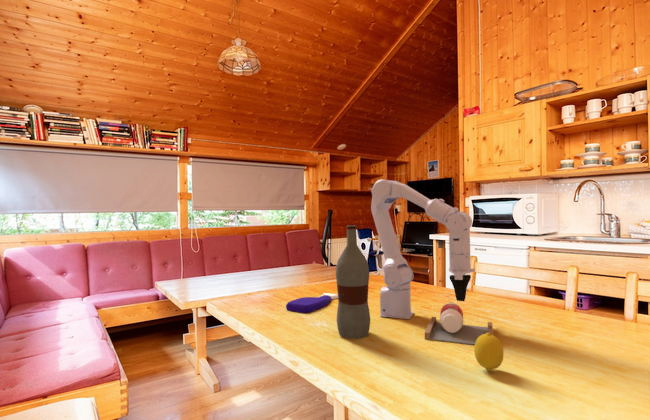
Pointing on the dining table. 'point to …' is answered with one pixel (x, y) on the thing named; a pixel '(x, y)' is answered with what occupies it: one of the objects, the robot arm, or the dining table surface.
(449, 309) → the pill bottle
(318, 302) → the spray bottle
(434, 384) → the dining table surface
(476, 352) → the lemon
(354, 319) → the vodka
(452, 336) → the grey tray
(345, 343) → the dining table surface
